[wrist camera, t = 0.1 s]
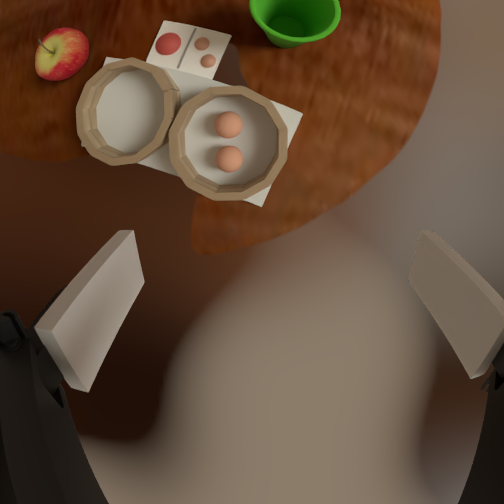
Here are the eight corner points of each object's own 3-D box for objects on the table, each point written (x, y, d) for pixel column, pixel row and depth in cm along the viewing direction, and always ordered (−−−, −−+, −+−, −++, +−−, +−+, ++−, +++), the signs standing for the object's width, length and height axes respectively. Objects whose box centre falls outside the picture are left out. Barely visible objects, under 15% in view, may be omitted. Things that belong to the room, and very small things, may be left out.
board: (85, 144, 35) (81, 145, 34) (110, 58, 29) (106, 57, 28) (261, 204, 40) (261, 206, 39) (301, 113, 34) (302, 113, 33)
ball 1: (216, 112, 33) (211, 111, 30) (243, 111, 33) (241, 110, 30) (216, 137, 34) (212, 140, 31) (243, 137, 34) (242, 139, 31)
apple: (100, 26, 26) (63, 12, 17) (99, 73, 30) (60, 68, 21) (59, 43, 27) (20, 36, 18) (58, 87, 31) (17, 89, 22)
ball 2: (216, 144, 35) (212, 147, 32) (243, 143, 35) (242, 146, 32) (217, 170, 37) (214, 175, 33) (243, 169, 36) (242, 175, 33)
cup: (278, 73, 31) (286, 57, 22) (237, 25, 28) (230, -5, 18) (332, 43, 29) (358, 21, 19) (292, -4, 25) (303, -39, 16)
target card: (146, 63, 30) (144, 63, 30) (164, 21, 27) (163, 20, 27) (212, 80, 32) (211, 79, 31) (231, 36, 29) (231, 35, 28)
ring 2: (176, 93, 32) (166, 91, 28) (284, 89, 31) (288, 86, 28) (181, 192, 38) (173, 201, 35) (283, 191, 38) (285, 200, 34)
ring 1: (90, 75, 29) (75, 73, 26) (180, 55, 29) (171, 49, 25) (95, 164, 36) (81, 170, 32) (182, 154, 36) (174, 159, 32)
